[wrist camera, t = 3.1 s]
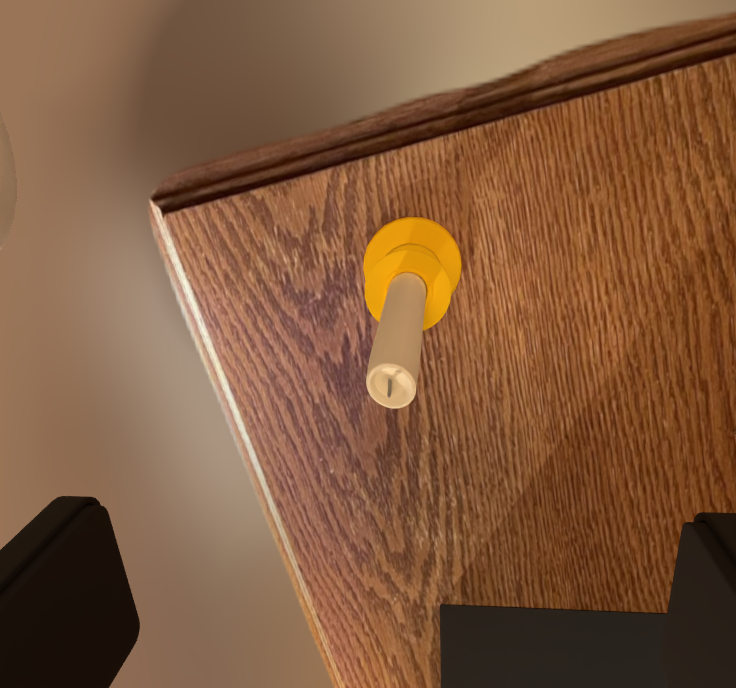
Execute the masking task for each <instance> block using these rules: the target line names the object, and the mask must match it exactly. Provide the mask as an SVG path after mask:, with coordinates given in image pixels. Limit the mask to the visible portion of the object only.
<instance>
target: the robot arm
mask: <svg viewBox="0 0 736 688" xmlns="http://www.w3.org/2000/svg"><path fill="white" fill-rule="evenodd" d="M139 628H140V622H139V617H138V614H137V610H136V607H135V603H134V600H133V597H132V593H131V590H130V586H129V583H128V579H127V576H126V573H125V569H124V566H123V562H122V559H121V555H120V552H119V548H118V545H117V542H116V538H115V534H114V531H113V527H112V524H111V521H110V517H109V514H108V511H107V510H106V508H105V507H104V506H101V505H100V503H99V501H98V500H97V499H96V498H93V497H78V496H77V497H76V496H62V497H58V498H56V499H55V500H53V501H52V502H51V503H50V504H49V505H48V506H47V507H46V508H44V509H43V510H42V511H41V512H40V513H39V514H38V515H37V516H36V517H35V518H34V519H33V520H32V521H31V522H30V523H29V524H27V525H26V526H25V527H24V528H23V529H22V530H21V531H20V532H19V533H18V534H17V535H16V536H15V537H14V538H13V539H12V540H11V541H10V542H8V543H7V544H6V545H5V546H4V547H3V548H2V549H1V550H0V688H109V686H110V685H111V683H112V682H113V680H114V678H115V677H116V675H117V673H118V672H119V670H120V668H121V667H122V665H123V663H124V662H125V660H126V658H127V657H128V655H129V653H130V652H131V650H132V648H133V647H134V645H135V643H136V641H137V638H138V635H139ZM661 665H662V671H663V675H664V678H665V681H666V683H667V686H668V688H736V513H706V512H701V513H698V514H697V515H696V517H695V519H694V522H686V523H685V524H684V525H683V527H682V531H681V537H680V542H679V548H678V554H677V560H676V566H675V572H674V578H673V584H672V589H671V595H670V601H669V607H668V613H667V619H666V625H665V630H664V636H663V642H662V648H661Z"/></svg>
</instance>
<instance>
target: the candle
mask: <svg viewBox="0 0 736 688" xmlns="http://www.w3.org/2000/svg"><path fill="white" fill-rule="evenodd" d="M461 267H462V263H461V257H460V251H459V248H458V246H457V244H456V242H455V240H454V238H453V237H452V236H451V235H450V233H449V232H448V231H447V230H446V229H445V228H444V227H442V226H441V225H439V224H438V223H436V222H435V221H432V220H429V219H426V218H423V217H410V216H409V217H405V218H400V219H396V220H394V221H392V222H390V223H388V224H386V225H384V226H383V227H382V228H381V229H380V230H379V231H378V232H377V233H376V234H375V235H374V237H373V238H372V240H371V241H370V243H369V244H368V246H367V250H366V253H365V256H364V268H363V270H364V275H365V280H366V283H365V299H366V303H367V306H368V308H369V310H370V312H371V314H372V315H373V317H374V318H375V319H376V320H377V321H378V322H379V325H378V329H377V332H376V336H375V340H374V343H373V347H372V351H371V354H370V359H369V365H368V372H367V378H366V385H367V389H368V391H369V393H370V395H371V397H372V398H373V399H374V400H375V401H376V402H378V403H379V404H380V405H382V406H385V407H388V408H401V407H404V406H406V405H408V404H409V403H410V402H411V401H412V400H413V399H414V396H415V394H416V385H417V380H418V375H419V366H420V355H421V344H422V333H423V331H424V330H426V329H428V328H431V327H432V326H433V325H434V324H436V323H437V322H438V321H440V319H441V318H442V317H443V315H444V314H445V313H446V311H447V308H448V306H449V303H450V298H451V294H452V293H453V292H454V290H455V289H456V287H457V284H458V282H459V279H460V275H461Z"/></svg>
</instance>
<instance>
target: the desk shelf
mask: <svg viewBox="0 0 736 688" xmlns="http://www.w3.org/2000/svg"><path fill="white" fill-rule="evenodd" d="M666 619H667V614H654V613H630V612H606V611H582V610H558V609H534V608H510V607H486V606H462V605H440V647H441V688H668V686H667V683H666V681H665V678H664V675H663V671H662V665H661V648H662V642H663V636H664V630H665V625H666Z"/></svg>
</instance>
